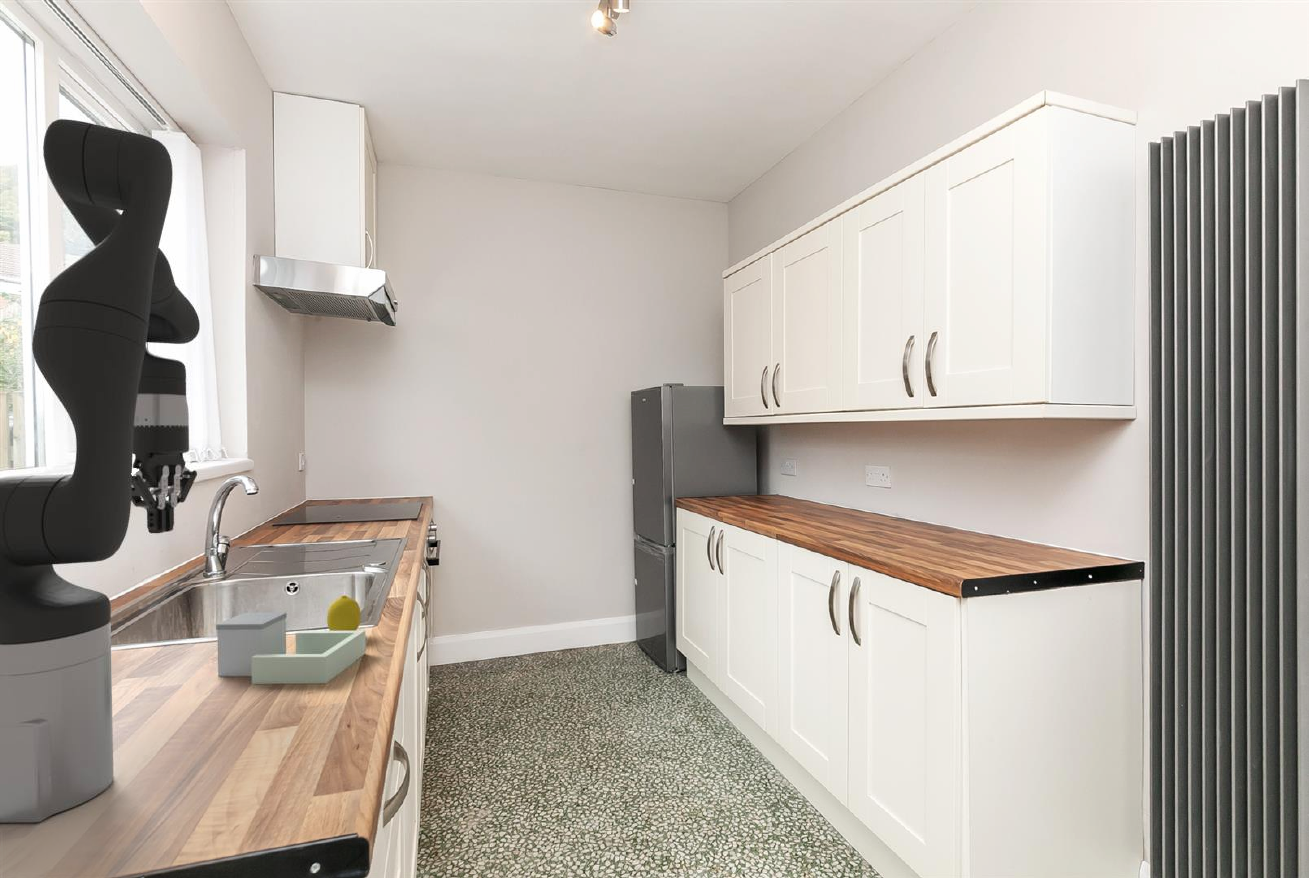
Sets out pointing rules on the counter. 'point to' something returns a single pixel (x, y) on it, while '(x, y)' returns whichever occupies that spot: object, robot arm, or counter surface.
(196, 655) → the counter surface
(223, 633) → the lidded grey box
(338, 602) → the lemon
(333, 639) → the bay
